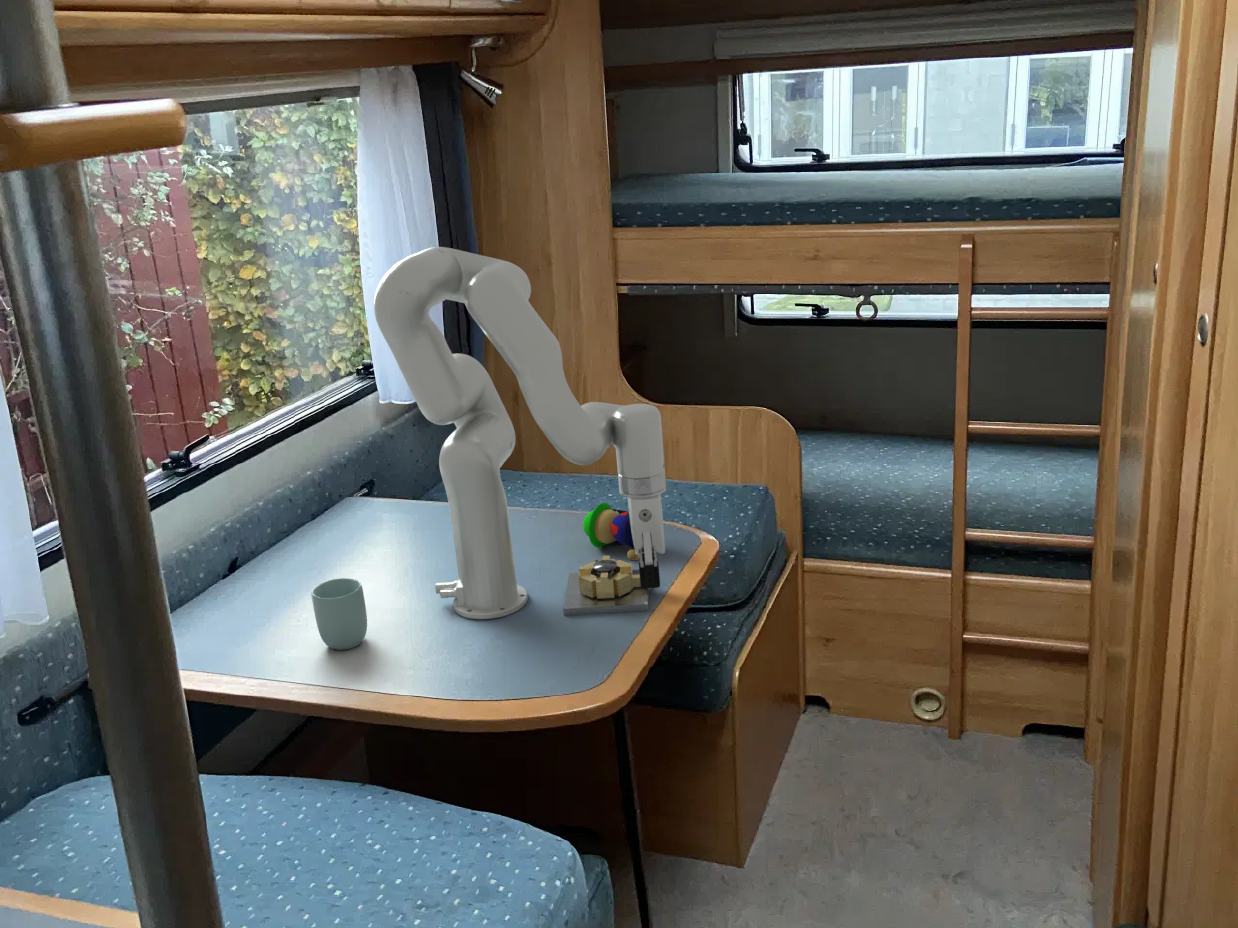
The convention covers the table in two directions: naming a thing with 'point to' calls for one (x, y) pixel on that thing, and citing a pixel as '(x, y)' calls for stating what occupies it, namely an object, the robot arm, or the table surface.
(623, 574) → the ring nut
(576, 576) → the base plate
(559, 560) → the table surface
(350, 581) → the cup
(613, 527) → the toy
